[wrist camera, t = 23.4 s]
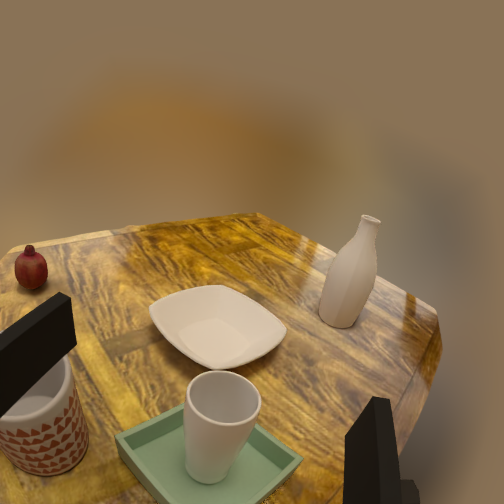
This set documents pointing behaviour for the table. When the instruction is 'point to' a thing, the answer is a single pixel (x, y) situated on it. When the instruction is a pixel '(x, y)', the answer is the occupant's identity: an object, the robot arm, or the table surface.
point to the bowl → (217, 326)
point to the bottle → (351, 277)
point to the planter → (46, 425)
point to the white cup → (217, 423)
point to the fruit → (31, 268)
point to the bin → (182, 484)
